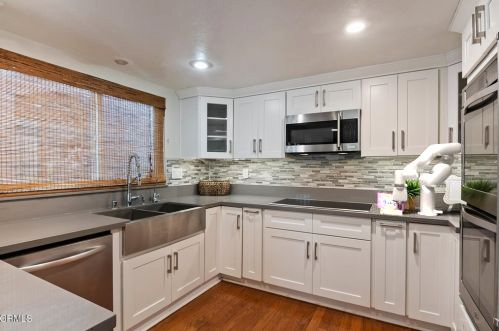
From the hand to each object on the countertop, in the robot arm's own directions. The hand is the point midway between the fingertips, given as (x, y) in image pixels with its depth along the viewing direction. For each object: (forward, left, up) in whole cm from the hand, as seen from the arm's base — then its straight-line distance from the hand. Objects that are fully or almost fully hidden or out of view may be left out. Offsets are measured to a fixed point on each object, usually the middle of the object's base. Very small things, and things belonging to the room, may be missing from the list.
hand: (399, 209), depth 209 cm
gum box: (+8, -21, -4) cm, 23 cm away
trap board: (+6, -3, -4) cm, 8 cm away
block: (+6, 0, -1) cm, 6 cm away
